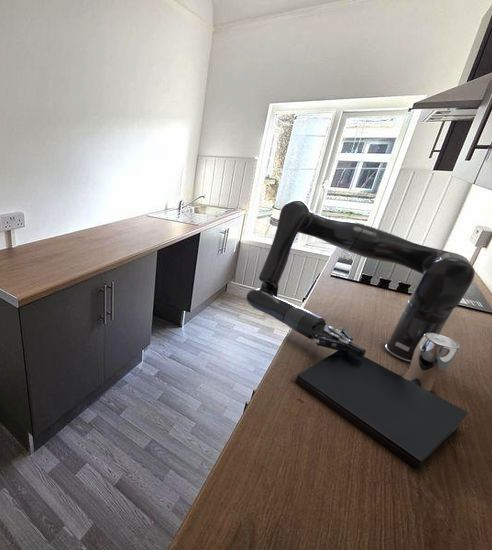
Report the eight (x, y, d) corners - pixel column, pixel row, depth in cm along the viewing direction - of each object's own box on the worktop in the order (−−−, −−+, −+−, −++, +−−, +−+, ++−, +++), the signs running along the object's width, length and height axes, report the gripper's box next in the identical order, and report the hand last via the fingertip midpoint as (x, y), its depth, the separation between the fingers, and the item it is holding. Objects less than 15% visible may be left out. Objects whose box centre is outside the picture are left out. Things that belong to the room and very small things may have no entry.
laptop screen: (344, 348, 87) (344, 345, 86) (467, 415, 66) (468, 412, 65) (296, 377, 79) (297, 374, 78) (419, 464, 58) (421, 461, 57)
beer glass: (425, 398, 76) (454, 351, 70) (394, 380, 82) (418, 335, 76) (437, 389, 80) (465, 344, 74) (405, 373, 85) (429, 329, 79)
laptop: (338, 361, 89) (341, 355, 88) (456, 430, 68) (460, 424, 67) (294, 382, 79) (296, 376, 79) (415, 469, 58) (420, 463, 58)
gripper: (293, 316, 89) (355, 349, 76) (319, 307, 95) (381, 336, 81) (287, 336, 92) (345, 372, 79) (312, 327, 98) (371, 358, 84)
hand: (363, 354), depth 80 cm, fingers closed
